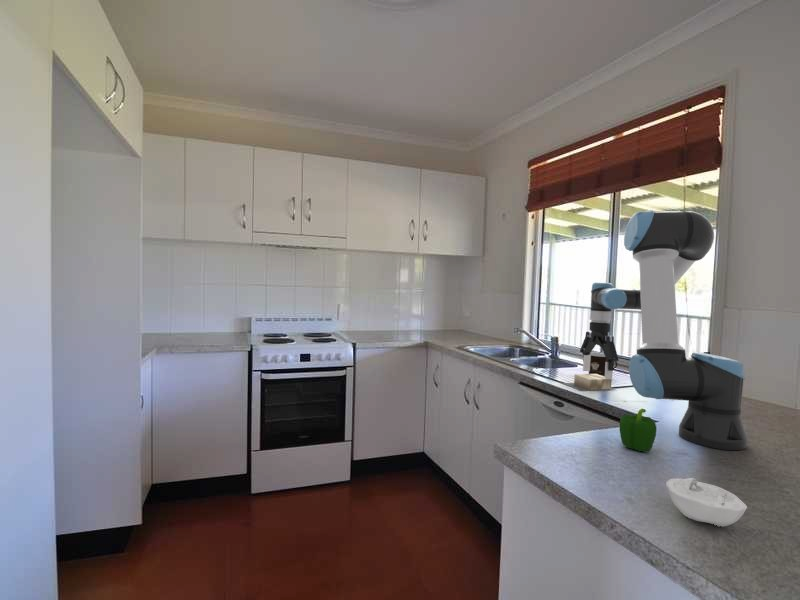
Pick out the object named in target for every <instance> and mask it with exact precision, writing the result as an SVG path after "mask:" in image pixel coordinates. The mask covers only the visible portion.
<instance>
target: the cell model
mask: <svg viewBox="0 0 800 600" xmlns="http://www.w3.org/2000/svg"><path fill="white" fill-rule="evenodd" d="M665 485H666V487H667V489H668V493H669V494H668V495H669V497H670V499H671V501H672V503H673V504H674V506H675V507H676V508H677V509H678V511H680V513H681V514H682V515H684V517H686V518H687V517H688V519H690V520H693V521H696V522H701V523H707V524H711V525H713V524H714V526H716V525H717V526H716V527H720V526H721V528H722V527H727V526H730V525H732V524H734V523H736V522H738V520H740V519H741V518H742V516H743V515H744V513H745V512H746V511H747V509H748V506H747V504H746V503H744V502H743V501H742V500H741V499H740V498H739V497H738V496H737V495H735V494H734V493H732V492H730V491H728V490H726V489H724V488H722V487H720V486H717V485H714V484H709V483H706V482H701V481H697V479H696V478H693V477H689V478H688V477H687V478H678V477H677V478H670V479H668V480H667V481H666V483H665Z"/></svg>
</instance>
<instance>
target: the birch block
mask: <svg viewBox="0 0 800 600" xmlns="http://www.w3.org/2000/svg"><path fill="white" fill-rule="evenodd" d="M573 377H574V380H573V383H574V384H575V385H578V386H580V387H583V388H585V389H588V390H599V389H611V388H612V380H613V378H612V379H605V377H604V376H601V375H598V374H589V373H576V374H575V373H574V376H573Z"/></svg>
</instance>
